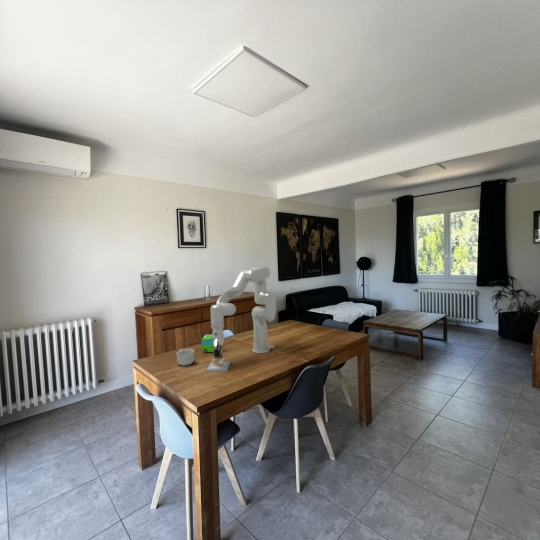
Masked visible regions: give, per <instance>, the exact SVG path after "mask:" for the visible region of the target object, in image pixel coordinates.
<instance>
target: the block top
mask: <svg viewBox="0 0 540 540" xmlns="http://www.w3.org/2000/svg"><path fill="white" fill-rule="evenodd" d="M217 347H218V346H217ZM219 350H220V357H214V348H213V352H212V354H213V358H212V360H213V359H222V357H223V355H224V348H223V346H219Z"/></svg>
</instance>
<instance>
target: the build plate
mask: <svg viewBox="0 0 540 540" xmlns="http://www.w3.org/2000/svg"><path fill="white" fill-rule="evenodd" d="M230 365H231V361H225V364H224V366H223V367H213V361H211V362H210V363H209V365H208V367H207V368H206V373H207V372H209V373H210V372H211V373H213V372H215V373H216V372H228V370H229V368H230Z"/></svg>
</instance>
